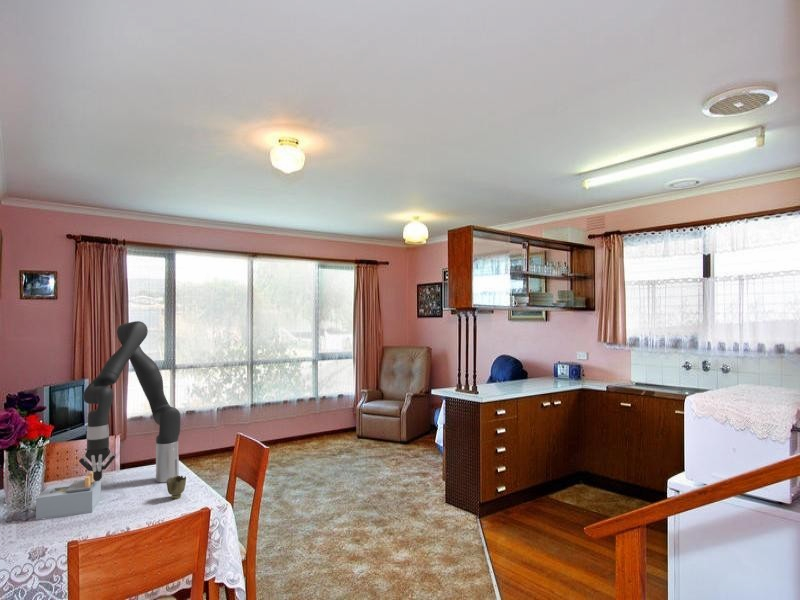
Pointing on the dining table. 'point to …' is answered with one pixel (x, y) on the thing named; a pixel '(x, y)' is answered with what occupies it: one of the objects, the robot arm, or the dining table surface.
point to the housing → (67, 501)
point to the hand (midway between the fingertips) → (97, 480)
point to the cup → (176, 486)
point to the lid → (82, 484)
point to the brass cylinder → (60, 490)
